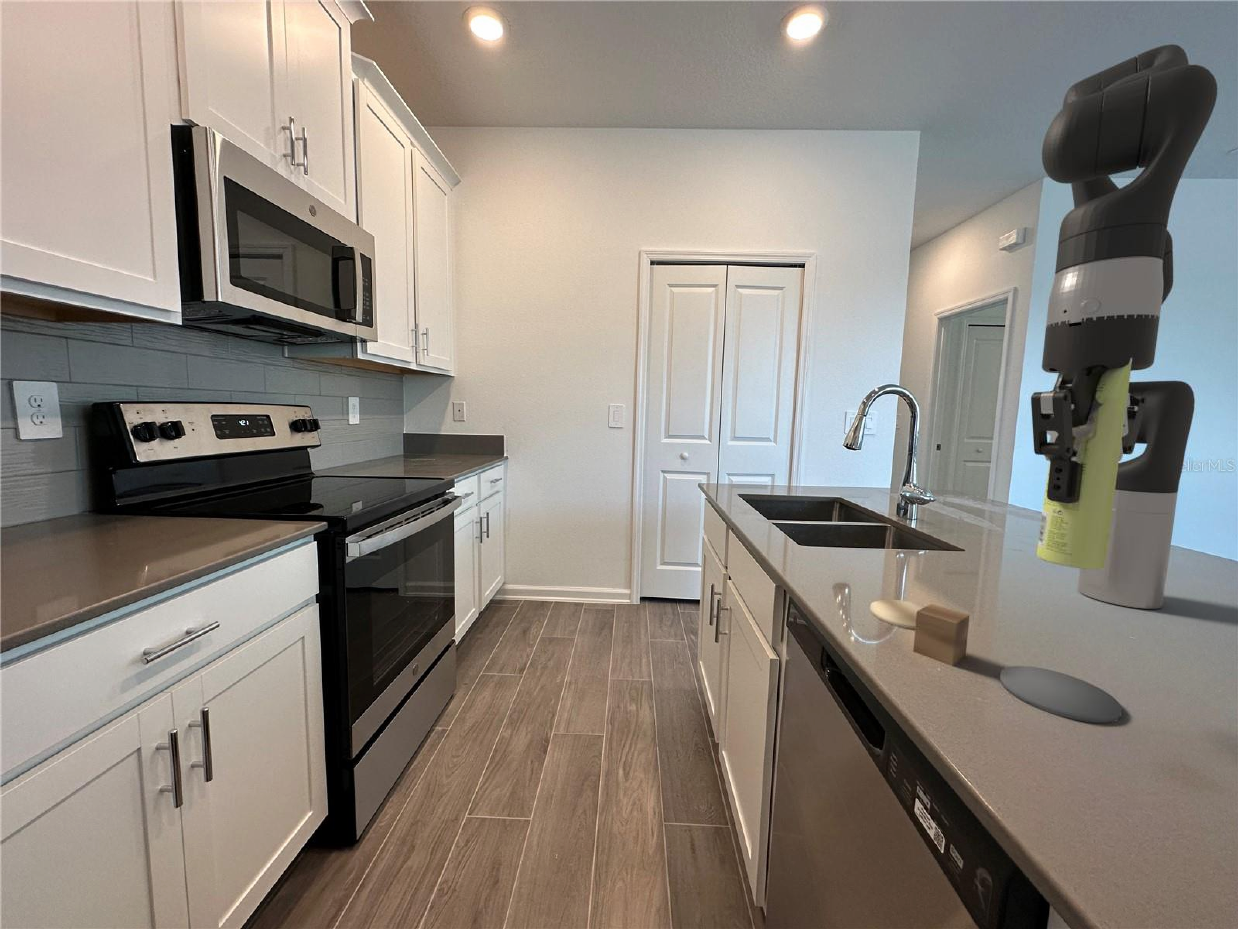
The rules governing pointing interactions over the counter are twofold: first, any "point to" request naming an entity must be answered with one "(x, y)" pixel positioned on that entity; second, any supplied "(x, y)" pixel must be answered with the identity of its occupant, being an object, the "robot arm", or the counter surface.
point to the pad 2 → (1060, 694)
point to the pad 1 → (896, 612)
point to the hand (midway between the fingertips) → (1078, 499)
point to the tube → (1089, 487)
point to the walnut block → (941, 634)
